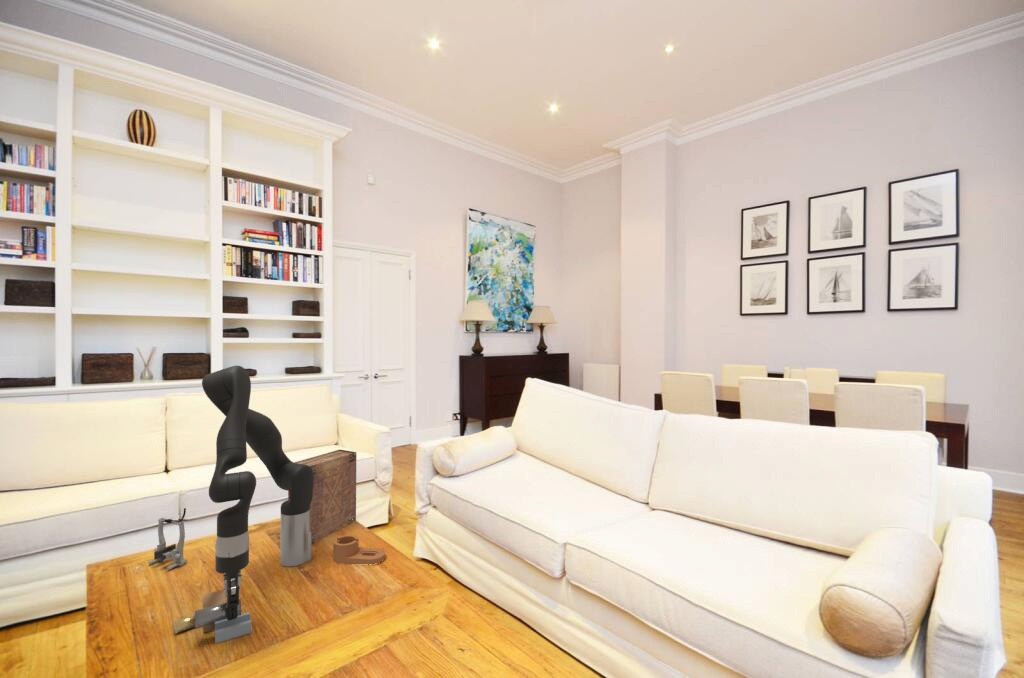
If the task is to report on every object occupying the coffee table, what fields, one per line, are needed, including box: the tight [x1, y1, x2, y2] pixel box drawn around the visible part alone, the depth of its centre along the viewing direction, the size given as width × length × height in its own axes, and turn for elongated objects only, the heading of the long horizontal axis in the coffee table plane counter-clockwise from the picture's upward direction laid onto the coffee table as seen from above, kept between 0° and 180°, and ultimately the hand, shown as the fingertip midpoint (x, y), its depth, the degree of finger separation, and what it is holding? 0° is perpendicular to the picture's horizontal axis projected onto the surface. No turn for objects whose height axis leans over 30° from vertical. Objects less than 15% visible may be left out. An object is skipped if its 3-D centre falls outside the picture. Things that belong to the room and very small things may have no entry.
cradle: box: [214, 611, 253, 644], centre depth 121 cm, size 8×5×3 cm
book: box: [287, 449, 357, 545], centre depth 181 cm, size 25×9×30 cm, turn 155°
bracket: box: [332, 534, 386, 565], centre depth 160 cm, size 18×8×7 cm, turn 84°
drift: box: [172, 613, 196, 635], centre depth 123 cm, size 6×3×3 cm
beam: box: [202, 588, 226, 633], centre depth 126 cm, size 5×10×5 cm, turn 34°
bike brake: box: [147, 507, 188, 571], centre depth 155 cm, size 14×7×20 cm, turn 69°
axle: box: [194, 598, 242, 628], centre depth 119 cm, size 10×4×4 cm, turn 124°
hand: (231, 614), depth 121 cm, fingers closed on axle, 3 cm apart
